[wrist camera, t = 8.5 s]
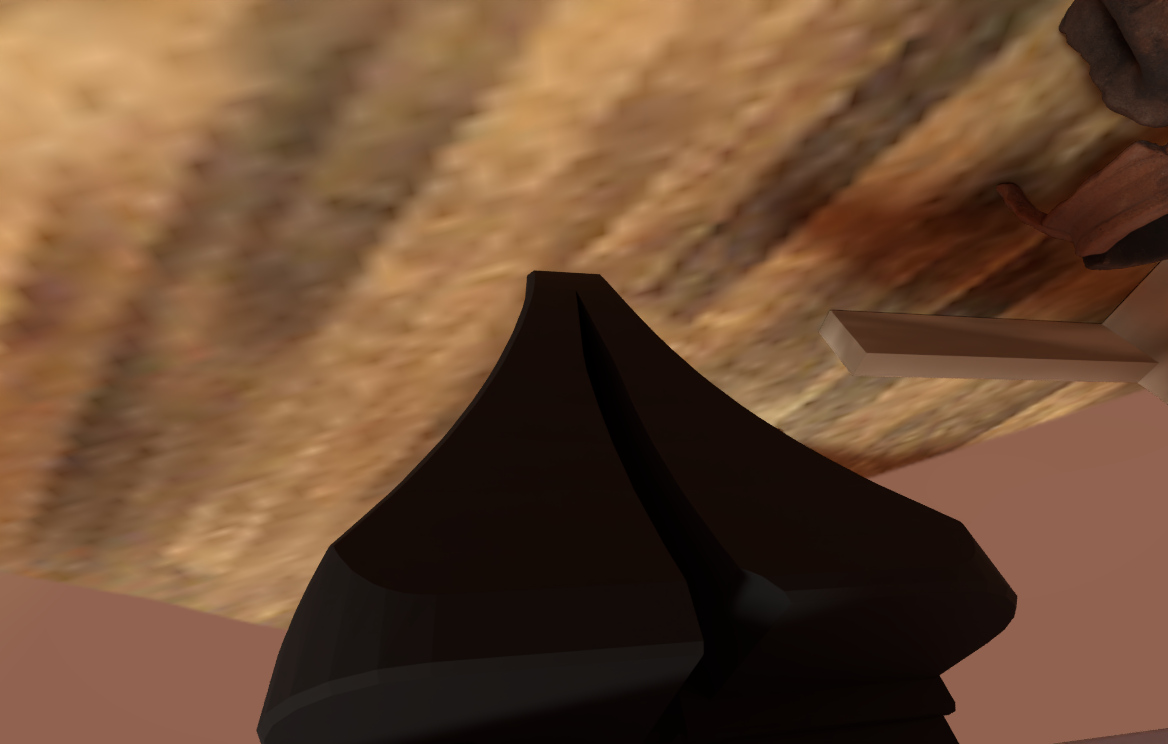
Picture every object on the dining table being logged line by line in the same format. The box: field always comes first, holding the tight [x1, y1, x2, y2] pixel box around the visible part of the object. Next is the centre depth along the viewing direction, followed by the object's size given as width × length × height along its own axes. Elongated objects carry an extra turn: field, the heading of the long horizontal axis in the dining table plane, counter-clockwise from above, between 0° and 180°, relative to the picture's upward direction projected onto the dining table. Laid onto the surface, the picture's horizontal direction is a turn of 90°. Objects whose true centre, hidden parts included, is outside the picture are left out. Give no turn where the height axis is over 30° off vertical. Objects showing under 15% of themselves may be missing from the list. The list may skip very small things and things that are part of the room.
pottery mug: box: [996, 0, 1168, 270], centre depth 16 cm, size 12×10×8 cm
